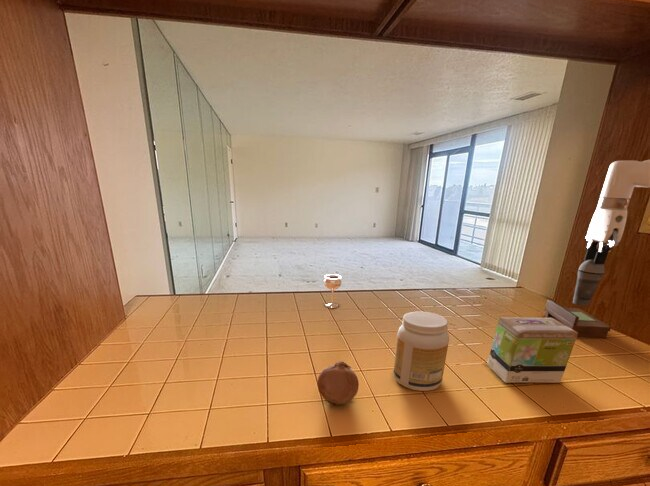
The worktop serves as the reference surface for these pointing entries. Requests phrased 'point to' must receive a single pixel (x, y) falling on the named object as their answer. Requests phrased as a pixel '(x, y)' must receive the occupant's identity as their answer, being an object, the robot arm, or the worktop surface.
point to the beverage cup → (587, 282)
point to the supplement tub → (421, 351)
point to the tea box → (531, 349)
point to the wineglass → (332, 286)
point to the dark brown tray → (577, 320)
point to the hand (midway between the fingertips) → (593, 261)
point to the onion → (338, 384)
